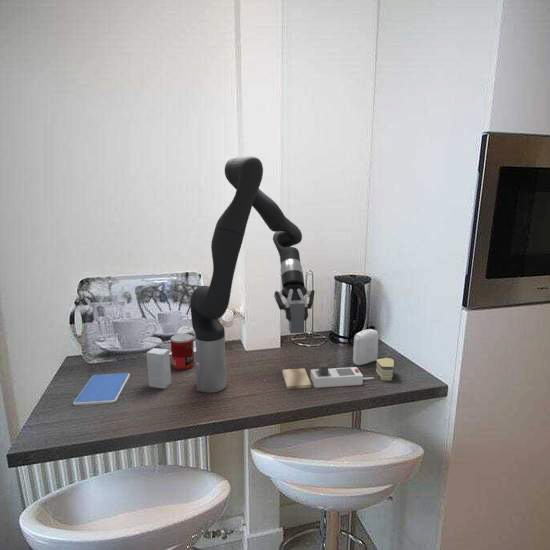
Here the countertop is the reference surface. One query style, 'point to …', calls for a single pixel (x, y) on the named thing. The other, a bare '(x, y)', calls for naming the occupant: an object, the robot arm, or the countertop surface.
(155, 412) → the countertop surface
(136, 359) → the countertop surface
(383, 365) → the yellow layered block
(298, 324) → the block
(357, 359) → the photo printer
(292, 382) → the board
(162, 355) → the skincare box
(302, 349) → the countertop surface
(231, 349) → the countertop surface
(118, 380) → the tablet computer
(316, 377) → the power strip
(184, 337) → the canned food
